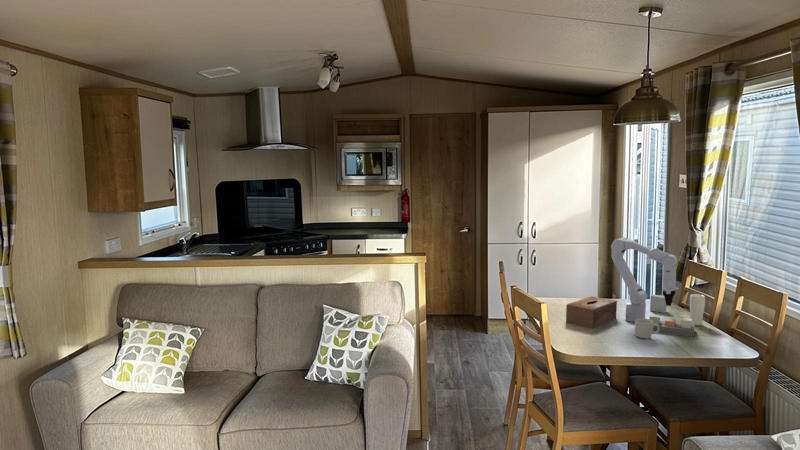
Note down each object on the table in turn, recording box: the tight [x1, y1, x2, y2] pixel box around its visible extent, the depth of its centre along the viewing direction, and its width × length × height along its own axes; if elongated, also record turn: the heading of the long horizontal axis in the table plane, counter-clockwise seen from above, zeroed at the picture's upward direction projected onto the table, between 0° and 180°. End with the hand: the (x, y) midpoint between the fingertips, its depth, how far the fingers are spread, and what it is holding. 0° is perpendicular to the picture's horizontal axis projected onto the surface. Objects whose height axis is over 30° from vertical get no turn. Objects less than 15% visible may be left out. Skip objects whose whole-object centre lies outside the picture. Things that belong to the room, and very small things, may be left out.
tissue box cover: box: [565, 295, 618, 330], centre depth 295 cm, size 26×14×10 cm, turn 134°
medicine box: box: [649, 294, 668, 314], centre depth 314 cm, size 8×4×9 cm, turn 58°
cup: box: [634, 318, 660, 339], centre depth 267 cm, size 11×8×8 cm
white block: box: [680, 317, 692, 329], centre depth 274 cm, size 4×4×4 cm
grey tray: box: [653, 320, 696, 338], centre depth 278 cm, size 21×11×3 cm, turn 61°
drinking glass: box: [689, 293, 706, 326], centre depth 288 cm, size 7×7×15 cm
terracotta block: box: [664, 317, 677, 327], centre depth 278 cm, size 4×4×4 cm
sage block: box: [648, 313, 661, 325], centre depth 281 cm, size 4×4×4 cm
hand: (668, 305), depth 285 cm, fingers closed
